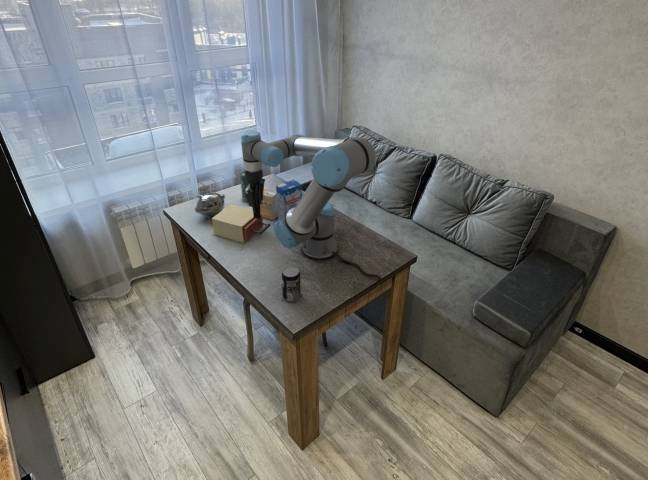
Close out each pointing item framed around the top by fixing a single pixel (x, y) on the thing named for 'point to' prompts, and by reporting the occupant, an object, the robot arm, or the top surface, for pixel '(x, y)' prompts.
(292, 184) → the milk carton
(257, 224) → the drawer
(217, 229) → the beige cardboard box
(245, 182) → the can
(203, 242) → the top surface
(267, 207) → the supplement box
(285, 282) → the beverage can
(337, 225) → the top surface
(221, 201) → the piggy bank
